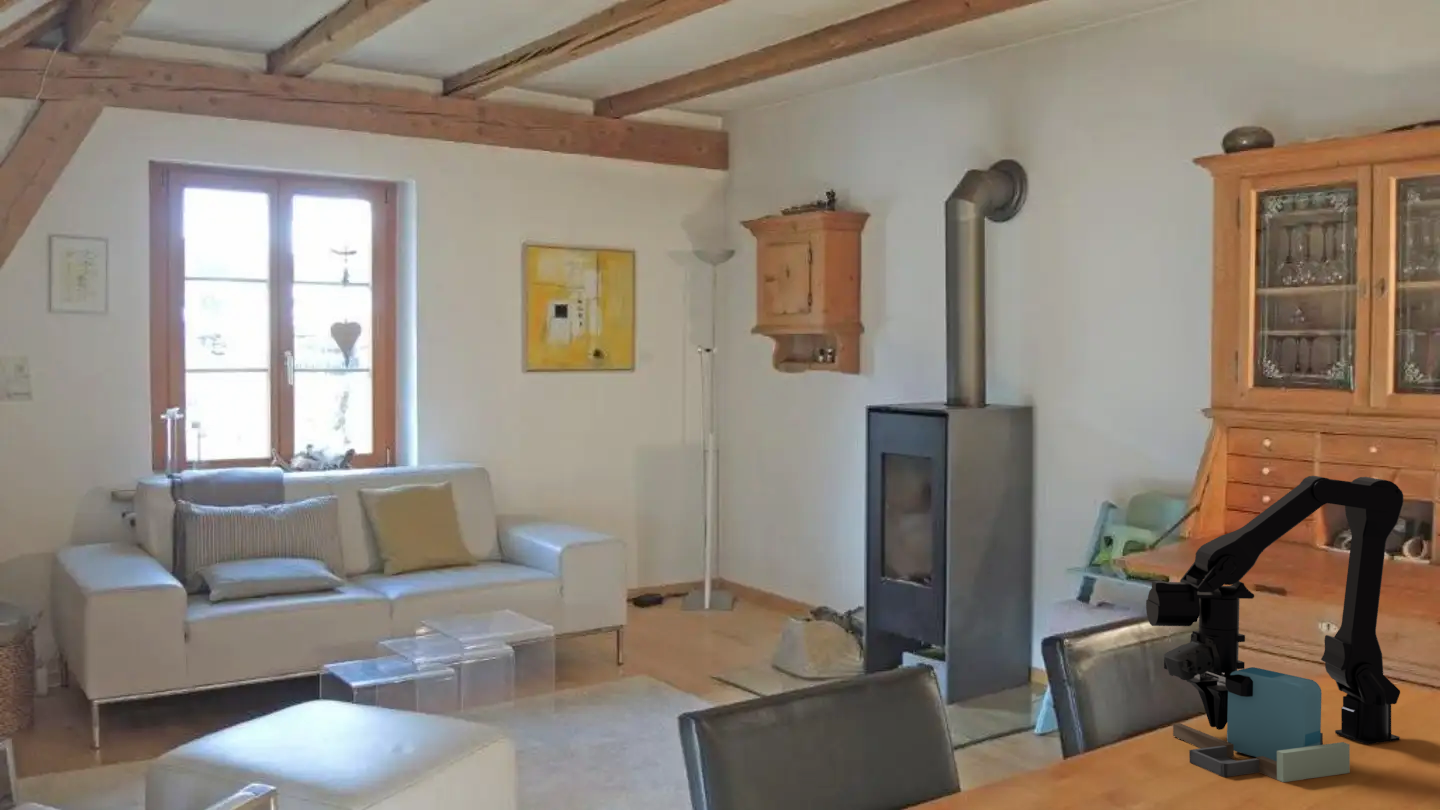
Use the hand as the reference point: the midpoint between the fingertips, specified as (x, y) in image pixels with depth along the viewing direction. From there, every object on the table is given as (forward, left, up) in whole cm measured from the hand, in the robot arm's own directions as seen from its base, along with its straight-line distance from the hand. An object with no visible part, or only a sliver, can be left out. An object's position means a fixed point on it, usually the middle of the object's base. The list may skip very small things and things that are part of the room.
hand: (1216, 728), depth 194 cm
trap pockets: (-1, +7, -2) cm, 8 cm away
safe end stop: (-1, +19, -2) cm, 19 cm away
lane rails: (-1, +7, -2) cm, 8 cm away
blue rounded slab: (-1, +10, -2) cm, 11 cm away
